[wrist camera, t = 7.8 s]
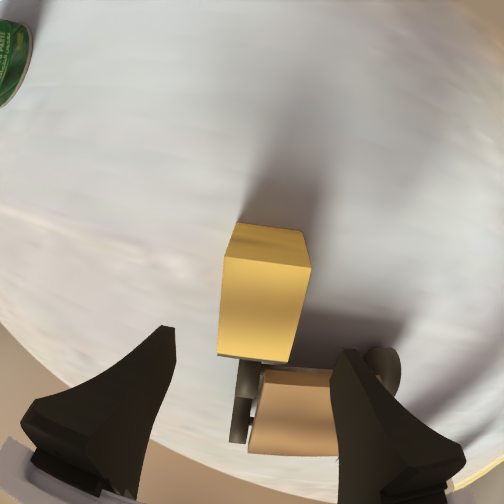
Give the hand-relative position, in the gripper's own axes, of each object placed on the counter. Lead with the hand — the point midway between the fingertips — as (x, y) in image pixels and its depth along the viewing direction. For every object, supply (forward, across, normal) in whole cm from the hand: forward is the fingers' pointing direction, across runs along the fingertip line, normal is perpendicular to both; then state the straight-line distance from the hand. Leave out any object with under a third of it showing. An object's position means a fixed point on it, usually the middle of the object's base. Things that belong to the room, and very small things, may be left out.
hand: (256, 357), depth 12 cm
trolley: (+8, -5, +10) cm, 14 cm away
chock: (+8, 0, 0) cm, 8 cm away
